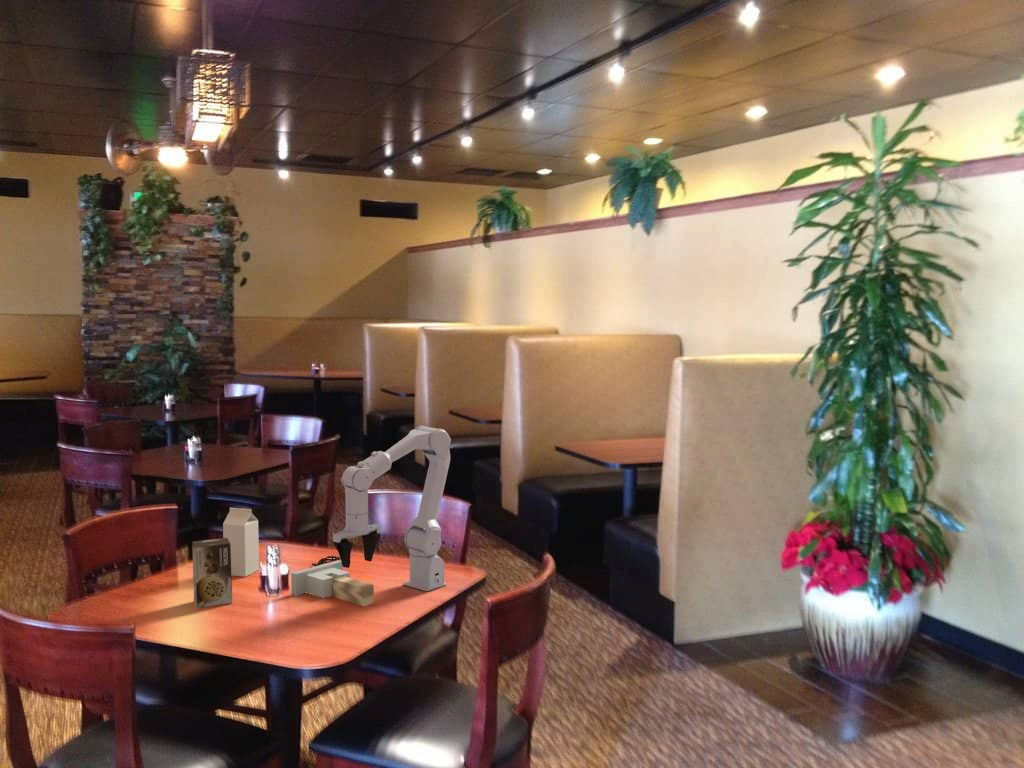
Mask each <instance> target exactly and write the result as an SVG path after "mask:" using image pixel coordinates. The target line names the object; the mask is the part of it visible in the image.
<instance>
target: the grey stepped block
mask: <svg viewBox="0 0 1024 768" xmlns="http://www.w3.org/2000/svg"><path fill="white" fill-rule="evenodd" d="M290 573H291V577H290V578H291V583H290V584H291V596H294V595H295V596H294V597H299V596H301V594H302V595H304V594H303V593H306V592H307V593H306V594H308V593H311V594H313V595H312V596H314V595H316V596H315V597H317V596H319V597H318V598H320V597H321V599H323V598H324V599H326V598H325V597H327V598H329V596H330V597H333V596H332V595H333V578H338V577H342V576H345V577H348V578H351V575H350V571H346V570H344V567H343V566H342V562H341V560H337V561H333V562H329V563H326V564H325V563H323V564H322V563H321V564H320V565H319V566H315V567H312V566H311V567H308V568H304V569H300V570H297V571H293V572H290ZM311 594H310V595H311ZM298 595H299V596H298Z"/></svg>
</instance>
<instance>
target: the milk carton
mask: <svg viewBox="0 0 1024 768" xmlns="http://www.w3.org/2000/svg"><path fill="white" fill-rule="evenodd" d="M222 533H223V535H222V536H223V537H222V538H228V540H229V542H230V543H231V573H232V577H242V578H243V577H244V578H245V577H248V576H249V575H250V576H251V575H252V574H254V573H255V572H258V571H259V570H260V553H259V552H260V549H259V548H260V546H259V543H260V542H259V540H260V539H259V519H258V518H257V517H256V516H255V514H253V512H252V508H242V507H241V508H238V507H229V512H228V513H227V516H226V518H225V519H224V521H223V524H222Z"/></svg>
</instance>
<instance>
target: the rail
mask: <svg viewBox="0 0 1024 768" xmlns="http://www.w3.org/2000/svg"><path fill="white" fill-rule="evenodd" d="M374 586H375V585H374V584H372V583H368V582H365V581H362V580H359V579H356V578H351V577H350V578H348V577H345V576H342V577H338V578H333V596H332V597H333V598H336V599H339V600H342V601H346V602H348V603H351V602H352V604H354V603H355V605H358V606H361V607H365V606H366V607H367V606H369V605H372V604H374V603H375V601H374V600H375V599H374V597H375V596H374V595H375V593H374V590H375V589H374ZM373 602H374V603H373ZM371 603H372V604H371ZM368 604H369V605H368Z"/></svg>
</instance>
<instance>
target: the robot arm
mask: <svg viewBox="0 0 1024 768" xmlns="http://www.w3.org/2000/svg"><path fill="white" fill-rule="evenodd" d="M451 442H452V438H451V437H450V435H449V434H448V432H447V431H446V430H445V429H443V428H435V427H429V426H426V425H419V426H417V427H415V428H414V429H411V430H410V431H409V432H408V434H407V435H406V436H404V437H403V438H402V439H401V440H399V441H398V442H396V443H395V444H394V445H392V446H391V447H390V448H387V450H386V451H382V450H378V451H373V452H371V453H370V456H369V457H367V458H365V459H364V460H362V461H358V462H357V465H356V466H355V465H353V466H352V465H351V466H348V467H347V468H346V469H345V470H344V471H343V473H342V475H341V476H342V477H340V481H341V484H342V486H343V487H344V492H345V527H344V529H342V530H340V531H338V532H335V533H333V534H332V542H333V543H332V544H333V545H334V547H335V549H336V550H337V552H338V553H337V554H338V555H339V557H340V561H341V562H342V566H343V568H346V569H349V568H351V567H350V566H351V554H352V553H351V552H352V549H353V546H354V542H351V541H349V540H350V539H354V538H358V537H361V539H362V545H363V557H364V561H367V562H372V561H373V556H374V553H375V551H376V547H377V545H378V542H379V540H380V539H381V534H380V532H381V524H378V523H373V524H369V508H368V507H369V506H368V505H369V499H368V498H369V497H368V496H369V493H368V491H369V489H370V488H371V486H372V484H373V482H374V481H375V480H376V479H378V478H379V477H381V476H382V475H383V474H385V473H386V472H388V471H390V470H391V468H392V463H393V462H394V463H395V461H397V460H399V459H401V458H402V457H405V456H407V455H408V454H410V453H411V452H413V451H414V450H415V451H416V450H419V451H421V452H422V453H423V454H424V455H425V457H426V458H427V459H428V461H429V464H428V465H429V466H428V468H427V473H426V477H425V481H424V486H423V491H422V495H421V499H420V504H419V509H418V513H417V516H416V517H415V518H414V519H412V520H411V521H410V523H409V528H408V529H407V531H406V532H405V534H404V545H405V546H406V547H407V548H408V552H409V580H408V581H406V582H405V581H404V582H403V583H402V585H404V586H407V587H411V588H413V589H417V590H421V591H425V592H429V591H432V590H435V589H437V588H441V587H444V586H447V583H446V582H445V562H444V559H443V558H441V557H440V556H439V555H438V552H439V551H440V548H441V545H442V539H441V538H442V537H441V532H442V528H441V526H440V524H439V522H438V521H437V520H438V517H439V512H440V509H441V503H442V498H443V494H444V490H445V485H446V483H447V482H446V481H447V476H448V471H449V468H450V463H451V451H450V445H451Z"/></svg>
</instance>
